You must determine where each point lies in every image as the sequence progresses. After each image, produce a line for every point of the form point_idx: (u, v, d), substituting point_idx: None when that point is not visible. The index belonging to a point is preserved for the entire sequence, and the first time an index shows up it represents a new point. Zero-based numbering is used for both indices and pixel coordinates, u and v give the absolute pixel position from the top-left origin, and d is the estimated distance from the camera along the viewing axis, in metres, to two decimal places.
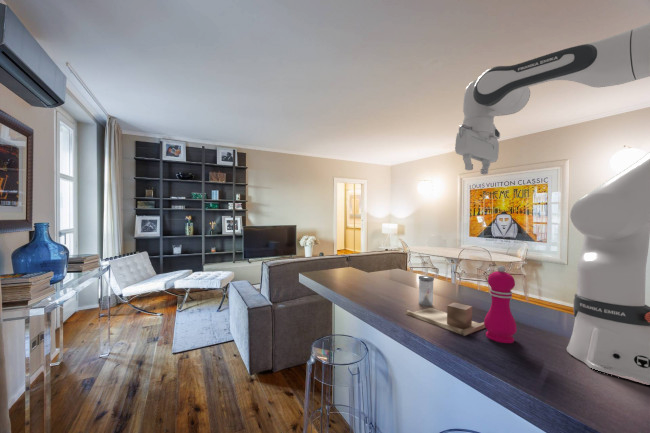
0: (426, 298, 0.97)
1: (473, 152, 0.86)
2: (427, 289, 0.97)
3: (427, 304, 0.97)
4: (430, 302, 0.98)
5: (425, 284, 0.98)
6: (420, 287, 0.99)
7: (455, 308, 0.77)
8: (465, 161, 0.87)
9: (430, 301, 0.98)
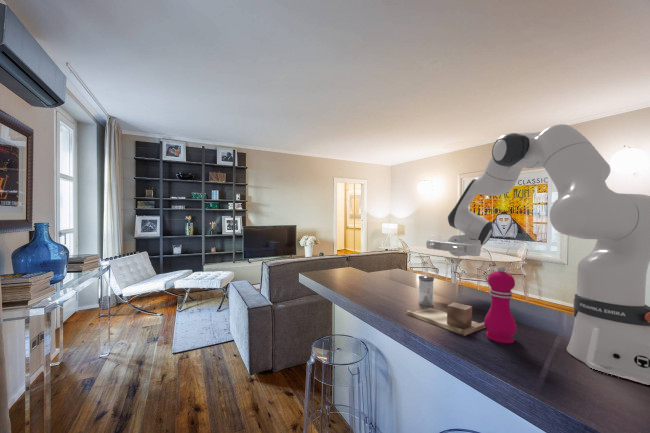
0: (426, 298, 0.97)
1: (436, 241, 1.15)
2: (427, 289, 0.97)
3: (427, 304, 0.97)
4: (430, 302, 0.98)
5: (425, 284, 0.98)
6: (420, 287, 0.99)
7: (455, 308, 0.77)
8: None
9: (430, 301, 0.98)
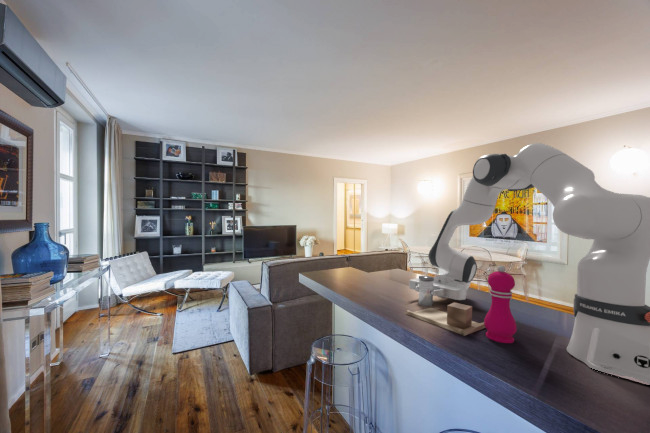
0: (426, 298, 0.97)
1: (418, 281, 1.07)
2: (427, 289, 0.97)
3: (427, 304, 0.97)
4: (430, 302, 0.98)
5: (425, 284, 0.98)
6: (420, 287, 0.99)
7: (455, 308, 0.77)
8: None
9: (430, 301, 0.98)
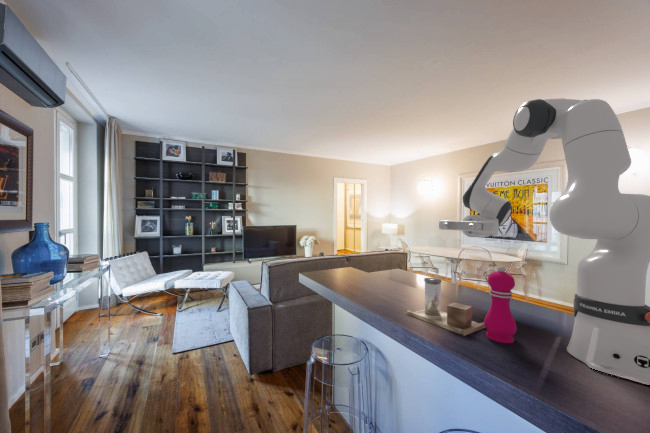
0: (433, 303, 0.87)
1: None
2: (434, 292, 0.87)
3: (435, 310, 0.87)
4: (438, 307, 0.88)
5: (432, 287, 0.88)
6: (426, 291, 0.89)
7: (455, 308, 0.77)
8: None
9: (438, 306, 0.88)
